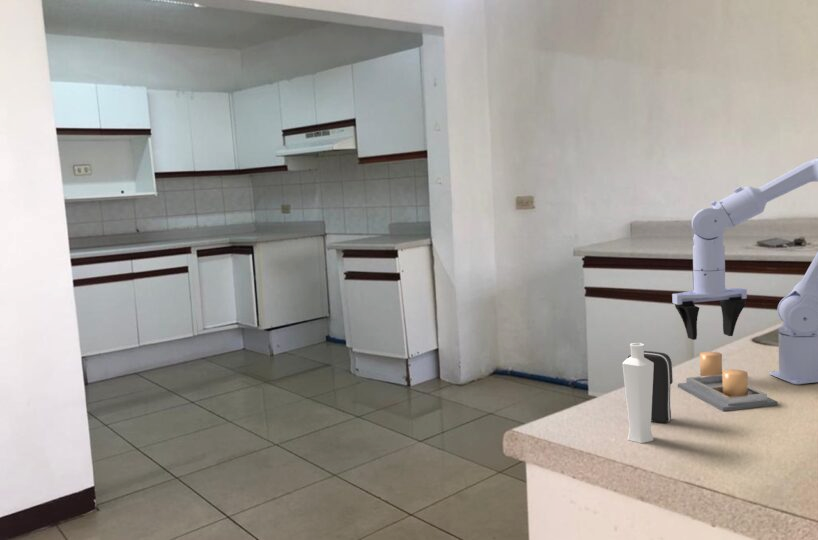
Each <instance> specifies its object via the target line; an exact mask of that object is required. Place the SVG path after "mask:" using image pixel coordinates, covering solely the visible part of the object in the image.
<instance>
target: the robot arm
mask: <svg viewBox="0 0 818 540" xmlns="http://www.w3.org/2000/svg"><path fill="white" fill-rule="evenodd" d="M812 182H818V157H815V158H812V159H810V160H808V161H807V160H806V161H805V162H803V163H801V164H799V165H798V166H796V167H794V168H792V169H791V170H789V171H786V172H785V173H783V174H782V175H781V174H780V176H778V177H776V178H774V179H773V180H770V181H769V182H767V183H765V184H763V185H761V186H760V187H753V186H749V185H747V186H745V187H742V186H738V187H737V188H734V189H733V193H732V194H730V195H728V196H726V197H723V198H722V199H720V200H718V201H716V200H713V201H711V202H710V206H711V207H705V208H702V209H700V210H698V211H696V212H695V213H694V215H692V216H693V217H692V219H691V222H690V227H691V229H692V231H693V237H692V242H693V246H692V271H693V272H692V273H693V276H692V277H693V290H688V291H683V292H678V293H677V292H676V293H672V294H671V297H672V304H674V306H675V309H676V310H677V312H678V314H679V315H680V318H681V319H682V321H683V325H684V327H685V330H686V332H685V333H686V335H687V339H690V340H693V341H695V340H697V337H698V318H699V317H698V316H699V311H700V307H699V306H696V304H695V303H705V302H714V301H719V304H720V309H721V315H722V330H723V335H725V336H728V337H733V336H734V331H735V330H736V329H735V328H736V325H737V321H738V320H739V317H740V316H741V315H740V314H741V313H742V311H743V310H744V309H745V306H746V299H747V298H748V291H747V288H744V287H731V288H729V287H728V288H726V254H725V253H726V252H725V251H726V250H725V249H726V248H725V245H724V233H725V231H726V230H727V228H729V229H733V228H734V227H736V226H738V225H740V224H742V223H744V222H746V221H748V220H751V219H752V218H754V217H756V216H758V215H760V214H762V213H764V211H765V208H766V206H767V203H769V202H771V201H773V200H775V199H777V198H779V197H781V196H784V195H786V194H788V193H789V192H791V191H794V190H797V189H798V188H800V187H803V186H804V185H807V184H809V183H812ZM744 299H745V300H744ZM776 309H777V316H778V317H779V319H780V320H781V321H782V322H783V323H782V324H781V326H780V327H779V328H778V330H777V331H778V370H771V371H768V375H770V376H773V377H776V378H778V379H781V380H783V381H786V382H788V383H790V384H793V385H804V384H814V383H818V251H817V252H816V254H815V256H814V258H813V259H812V261H811V263H810V265H809V266H808V268H807V270H806V272H805V274H804V275H803V277H802V279H801V280H800V281H799V282H798V283H796V285H794V287H793V288H792V290H791V292H790V293H789V294H787V295H786V296H784V297H782V299H781V300H780V301H779V303H778V305H777V308H776Z"/></svg>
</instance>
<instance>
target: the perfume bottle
mask: <svg viewBox="0 0 818 540" xmlns="http://www.w3.org/2000/svg"><path fill="white" fill-rule="evenodd" d="M644 346H645V344H644V343H642V342H633V343H632V342H631V343H630V344H629V347H630V354H631V357H629V358H628V357H627V358H626V359H624V361H623V362H622V364H621V365H622V370H623V381H624V383H623V384H624V390H625V391H624V392H625V400H626V409H627V421H628V428H629V430H628V434H627V435H628V436H627V441H632V442H634V443H639V444H644V443H645V444H646V443H649V442H652V441H654V439H655V438H654V436H653V433H652V421H651V413H652V391H653V370H654V363H653V362H652V361H650V360H648V359H646V358H645V357H644V351H645V350H644V349H645V348H644Z"/></svg>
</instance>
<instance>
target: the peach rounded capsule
mask: <svg viewBox="0 0 818 540" xmlns="http://www.w3.org/2000/svg"><path fill="white" fill-rule="evenodd" d="M699 366H700V367H699V369H700V373H699V374H700V375H699V376H708V375H718V374H722V372H723V354H722V353H720V352H717V351H702V352H700V353H699Z"/></svg>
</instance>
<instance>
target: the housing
mask: <svg viewBox="0 0 818 540" xmlns="http://www.w3.org/2000/svg"><path fill="white" fill-rule="evenodd" d="M748 378H749V377H748V372H747V371H745V370H742V369H725V370H722V374H718V375H708V376H700V375H699V376H691V377H690V376H689V377H686V378H685V379H686V382H682V383H679V382H678V383H677V387H678V388H679V389H681V390H683V391H685V392H687V393H688V394H691V395H692V396H694V397H696V398H697V399H700V400H701V401H703V402H705V403H707V404H709V405H711V406H713V407H715V408H716V409H719V410H721V411H722V412H726V411H727V412H728V411H734V410H743V409H752V408H753V409H754V408H763V407H772V406H778V404H779V403H778V401H777V400H776V399H773V398H771V397H769V396H768V394H767V393H765V392H762V391H761V390H758V389H756V388H753V387H752V386H749V384H748V380H749V379H748Z"/></svg>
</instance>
